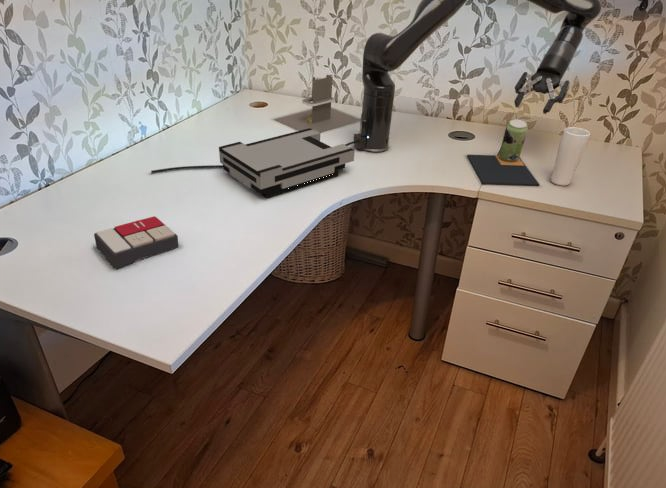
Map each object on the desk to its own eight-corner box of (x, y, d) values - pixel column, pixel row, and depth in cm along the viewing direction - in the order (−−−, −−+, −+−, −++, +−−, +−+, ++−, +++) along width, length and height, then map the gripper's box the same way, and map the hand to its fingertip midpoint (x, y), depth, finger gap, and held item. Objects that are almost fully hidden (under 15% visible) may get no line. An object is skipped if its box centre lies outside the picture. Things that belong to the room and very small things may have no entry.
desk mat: (482, 184, 150) (482, 181, 149) (466, 156, 166) (467, 153, 165) (538, 186, 150) (539, 183, 149) (518, 157, 166) (518, 155, 165)
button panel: (178, 232, 118) (112, 252, 110) (179, 249, 120) (115, 269, 112) (155, 213, 125) (92, 230, 116) (157, 229, 127) (95, 247, 119)
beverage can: (516, 155, 165) (526, 117, 158) (521, 165, 159) (532, 126, 152) (495, 154, 166) (505, 116, 158) (500, 163, 160) (510, 124, 152)
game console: (352, 172, 154) (355, 145, 149) (261, 202, 138) (260, 173, 133) (309, 149, 167) (309, 124, 162) (221, 174, 151) (218, 146, 146)
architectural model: (273, 119, 189) (273, 76, 180) (325, 105, 202) (327, 65, 193) (309, 135, 177) (311, 90, 168) (362, 120, 190) (366, 78, 182)
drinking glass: (571, 179, 154) (589, 128, 145) (573, 189, 149) (591, 137, 140) (547, 175, 155) (563, 125, 146) (547, 185, 150) (564, 133, 141)
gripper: (580, 73, 156) (554, 121, 156) (534, 64, 164) (508, 110, 164) (580, 57, 150) (553, 107, 150) (531, 49, 157) (505, 96, 157)
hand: (530, 109), depth 157 cm, fingers open, 8 cm apart
